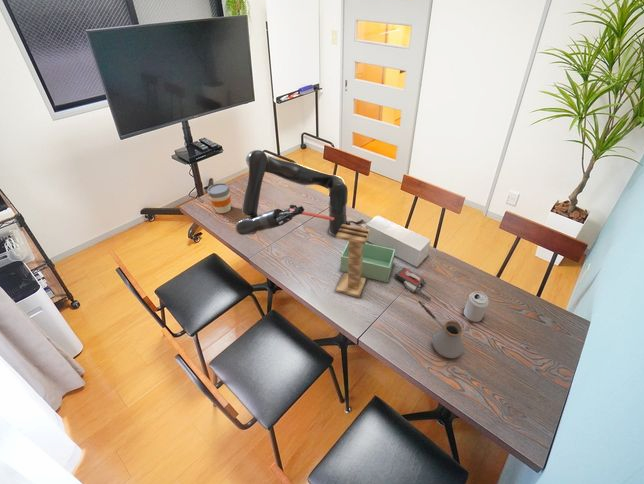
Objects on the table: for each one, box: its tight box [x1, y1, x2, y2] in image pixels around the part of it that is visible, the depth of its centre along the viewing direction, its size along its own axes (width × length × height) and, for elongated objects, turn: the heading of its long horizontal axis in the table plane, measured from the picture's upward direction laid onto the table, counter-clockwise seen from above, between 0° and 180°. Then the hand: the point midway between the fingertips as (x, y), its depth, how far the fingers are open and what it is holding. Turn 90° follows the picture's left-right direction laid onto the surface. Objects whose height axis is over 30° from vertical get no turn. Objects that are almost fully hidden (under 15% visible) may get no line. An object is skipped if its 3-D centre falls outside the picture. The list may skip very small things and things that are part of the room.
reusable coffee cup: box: [206, 182, 232, 214], centre depth 198 cm, size 13×13×15 cm
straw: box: [289, 209, 334, 221], centre depth 135 cm, size 20×1×1 cm, turn 71°
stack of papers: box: [365, 214, 432, 268], centre depth 170 cm, size 32×11×11 cm, turn 49°
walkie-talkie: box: [394, 267, 432, 301], centre depth 151 cm, size 9×4×20 cm
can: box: [463, 290, 490, 323], centre depth 135 cm, size 8×8×12 cm
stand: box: [335, 224, 370, 298], centre depth 142 cm, size 12×11×33 cm
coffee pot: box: [416, 300, 464, 359], centre depth 125 cm, size 21×12×15 cm, turn 45°
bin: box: [340, 240, 395, 283], centre depth 159 cm, size 23×13×10 cm, turn 71°
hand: (302, 209), depth 135 cm, fingers closed on straw, 1 cm apart
